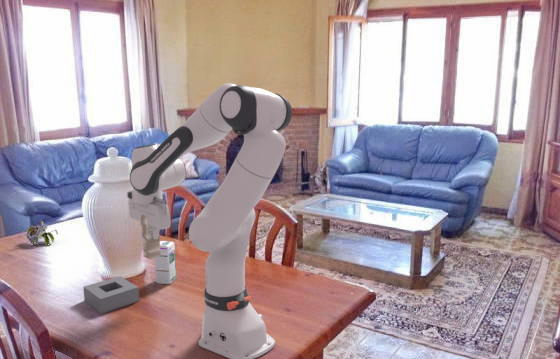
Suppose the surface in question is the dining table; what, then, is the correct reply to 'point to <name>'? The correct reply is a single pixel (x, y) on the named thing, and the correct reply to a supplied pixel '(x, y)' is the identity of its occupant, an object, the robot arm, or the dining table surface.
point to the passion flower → (39, 233)
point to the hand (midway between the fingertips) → (150, 236)
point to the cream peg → (149, 240)
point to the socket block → (111, 294)
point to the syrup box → (166, 263)
